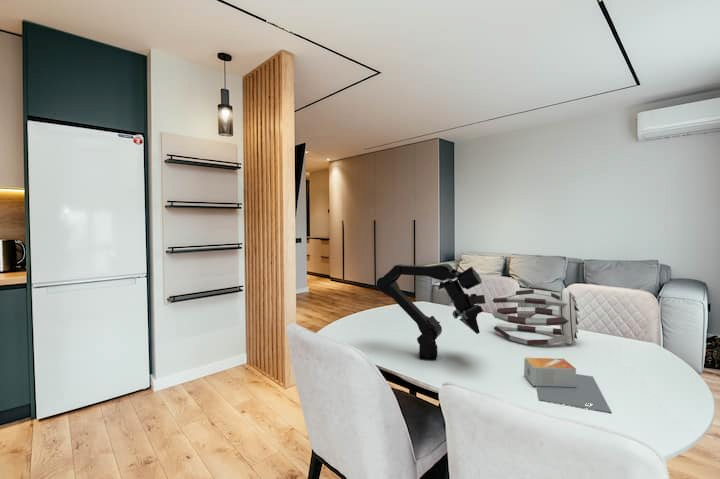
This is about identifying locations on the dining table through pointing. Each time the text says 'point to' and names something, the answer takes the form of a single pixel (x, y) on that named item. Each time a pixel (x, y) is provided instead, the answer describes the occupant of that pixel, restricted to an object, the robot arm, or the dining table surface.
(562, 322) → the decorative basket
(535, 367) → the small box
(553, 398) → the mouse pad
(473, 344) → the dining table surface
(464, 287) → the robot arm
